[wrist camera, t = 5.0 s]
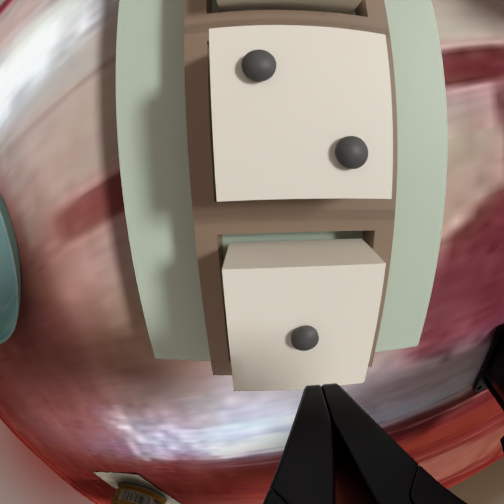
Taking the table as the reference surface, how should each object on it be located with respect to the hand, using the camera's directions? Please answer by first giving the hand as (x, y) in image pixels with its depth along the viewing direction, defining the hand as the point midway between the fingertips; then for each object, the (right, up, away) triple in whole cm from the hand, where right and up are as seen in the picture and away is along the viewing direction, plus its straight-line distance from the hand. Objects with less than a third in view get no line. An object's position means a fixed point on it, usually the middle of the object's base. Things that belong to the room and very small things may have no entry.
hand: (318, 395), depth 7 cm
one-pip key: (0, +2, +5) cm, 5 cm away
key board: (0, +9, +5) cm, 11 cm away
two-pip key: (0, +8, +3) cm, 9 cm away
